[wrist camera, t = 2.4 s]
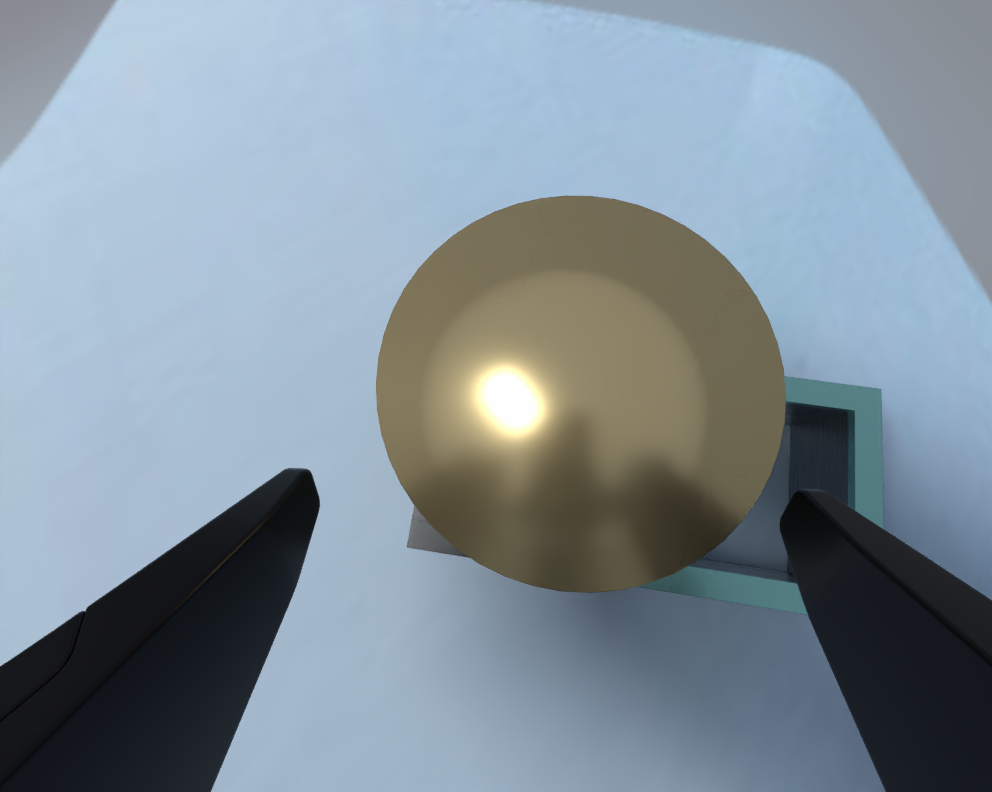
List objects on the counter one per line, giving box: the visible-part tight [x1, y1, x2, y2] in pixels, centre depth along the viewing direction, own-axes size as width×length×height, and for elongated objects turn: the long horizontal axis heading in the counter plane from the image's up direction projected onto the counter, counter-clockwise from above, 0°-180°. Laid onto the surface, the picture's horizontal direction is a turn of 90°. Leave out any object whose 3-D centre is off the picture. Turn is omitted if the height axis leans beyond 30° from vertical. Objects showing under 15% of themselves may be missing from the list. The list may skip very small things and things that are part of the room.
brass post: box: [376, 196, 786, 593], centre depth 11 cm, size 4×4×13 cm
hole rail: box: [407, 376, 884, 615], centre depth 16 cm, size 14×7×3 cm, turn 81°
